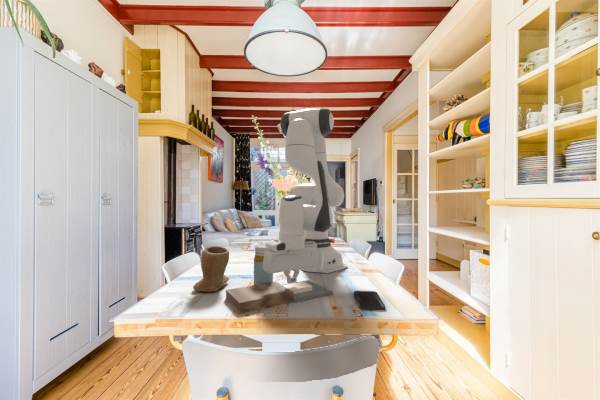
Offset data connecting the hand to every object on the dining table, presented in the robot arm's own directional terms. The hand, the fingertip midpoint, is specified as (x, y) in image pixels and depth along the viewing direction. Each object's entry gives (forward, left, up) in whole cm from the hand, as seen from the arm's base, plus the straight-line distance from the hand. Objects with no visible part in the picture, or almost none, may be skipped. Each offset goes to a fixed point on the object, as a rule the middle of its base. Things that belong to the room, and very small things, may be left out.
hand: (291, 282), depth 101 cm
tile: (-2, 0, -3) cm, 3 cm away
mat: (-4, 0, -4) cm, 6 cm away
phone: (-18, +19, -4) cm, 26 cm away
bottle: (+5, -12, -4) cm, 14 cm away
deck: (+12, 0, -4) cm, 13 cm away
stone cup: (+21, -20, -4) cm, 30 cm away
